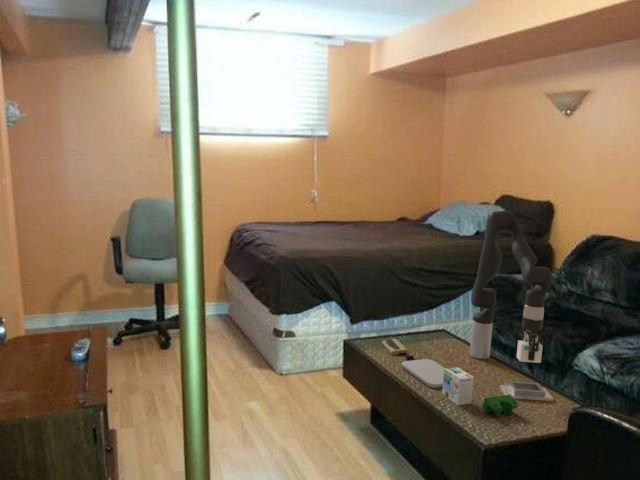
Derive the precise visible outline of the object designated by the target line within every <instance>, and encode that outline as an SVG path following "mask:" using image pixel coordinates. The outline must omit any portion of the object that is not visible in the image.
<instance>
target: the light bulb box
mask: <svg viewBox="0 0 640 480" xmlns="http://www.w3.org/2000/svg"><path fill="white" fill-rule="evenodd" d="M474 378H475V376H473V375H471V374H470V373H468V372H466V371H465V370H463V369H462V368H460V367H458V366H457V367H449V368H446V369H444V378H443V387H442V389H441V391H442V392H441V395H443V396H444V397H445V398H446V399H448V400H449V401H451V402H452V403H454V404H455V405H456V406H461V405H463V406H464V405H468V404H472V399H473V398H472V397H473V391H474V390H473V388H474Z"/></svg>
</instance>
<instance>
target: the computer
mask: <svg viewBox="0 0 640 480" xmlns="http://www.w3.org/2000/svg"><path fill="white" fill-rule="evenodd" d="M381 344H382V345H383V347H384V348H385V349H386V350H387V351H388V352H389V354H390V355H391V356H403V355H404V356H408V354H409V352H408V349H407V348H406V347H405V346H404V345H403V344H402V343H401V342H400V341H399V339H396V338H391V339H386V340H382V342H381Z"/></svg>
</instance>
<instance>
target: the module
mask: <svg viewBox="0 0 640 480" xmlns="http://www.w3.org/2000/svg"><path fill="white" fill-rule="evenodd" d="M530 343H532V342H530ZM533 348H534V347H533ZM516 349H517V350H516V358H517V359H518V361H519V362H520V363H521V362H523V363H539V364H541V363H542V357H543V356H542V353H543V345H542V343H540V342H539V347H538V352H535V357H534V361H530V360H528V354H529V345H528V341H523V340H517V348H516Z"/></svg>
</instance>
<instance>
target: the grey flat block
mask: <svg viewBox="0 0 640 480" xmlns="http://www.w3.org/2000/svg"><path fill="white" fill-rule="evenodd" d="M499 389H500V391H501V392H502V393H503V395H511V396H512V397H513V398H514V399H515V400H517V399H518V400H519V399H520V400H534V401H543V402H544V401H545V402H546V401H547V402H553V401H554V397H553V396H552V395H551V393H549V392H548V390H547V389H546V388H545V387H542V386H541V385H540V384H539V383H538V382H526V381H525V382H524V381H512V380H511V381H510V380H509V381H508V384H507V385H506V384H505V385H504V384H499Z"/></svg>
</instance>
